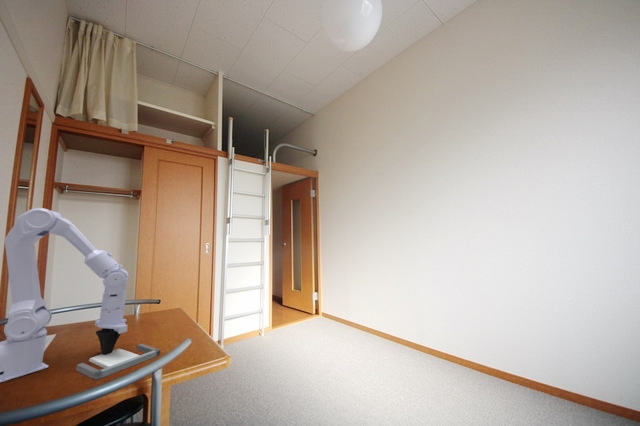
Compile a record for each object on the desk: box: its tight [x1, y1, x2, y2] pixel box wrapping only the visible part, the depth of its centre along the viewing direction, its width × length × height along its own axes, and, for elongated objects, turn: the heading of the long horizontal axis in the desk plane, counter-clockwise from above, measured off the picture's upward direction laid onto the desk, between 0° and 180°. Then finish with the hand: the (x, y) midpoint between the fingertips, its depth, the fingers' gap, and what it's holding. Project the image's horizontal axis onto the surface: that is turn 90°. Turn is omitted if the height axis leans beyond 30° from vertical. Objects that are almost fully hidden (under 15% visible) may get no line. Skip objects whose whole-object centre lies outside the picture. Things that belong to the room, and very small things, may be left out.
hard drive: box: [88, 348, 141, 369], centre depth 73 cm, size 2×8×12 cm
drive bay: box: [76, 343, 161, 381], centre depth 72 cm, size 16×10×2 cm, turn 155°
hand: (106, 353), depth 76 cm, fingers closed, pressing on hard drive
